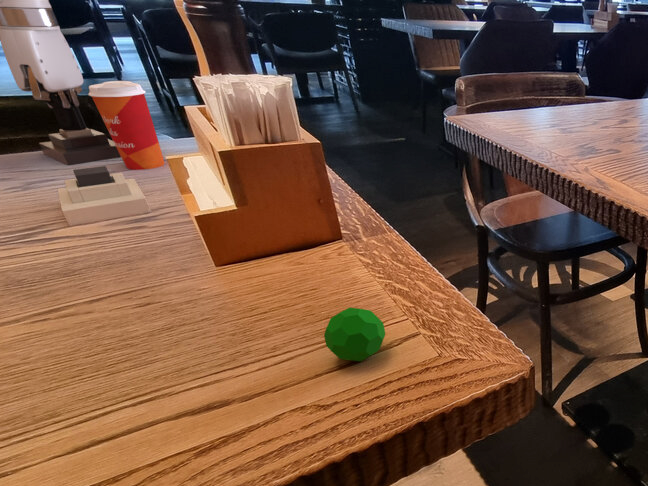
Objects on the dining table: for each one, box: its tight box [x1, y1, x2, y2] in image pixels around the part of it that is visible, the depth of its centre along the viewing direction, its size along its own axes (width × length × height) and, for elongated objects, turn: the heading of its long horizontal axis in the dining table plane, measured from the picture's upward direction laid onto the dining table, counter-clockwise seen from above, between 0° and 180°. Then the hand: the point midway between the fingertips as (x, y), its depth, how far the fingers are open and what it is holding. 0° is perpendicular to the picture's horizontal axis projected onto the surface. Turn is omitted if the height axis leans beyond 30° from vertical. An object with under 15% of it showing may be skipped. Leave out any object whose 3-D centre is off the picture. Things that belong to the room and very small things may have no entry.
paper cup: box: [88, 82, 165, 171], centre depth 93 cm, size 8×8×14 cm
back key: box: [58, 127, 93, 138], centre depth 99 cm, size 4×4×2 cm
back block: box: [38, 128, 121, 167], centre depth 100 cm, size 12×9×4 cm
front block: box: [57, 172, 152, 227], centre depth 77 cm, size 12×9×4 cm
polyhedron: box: [323, 307, 386, 362], centre depth 48 cm, size 5×5×5 cm
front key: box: [73, 165, 113, 187], centre depth 76 cm, size 4×4×2 cm
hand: (74, 129), depth 98 cm, fingers closed
